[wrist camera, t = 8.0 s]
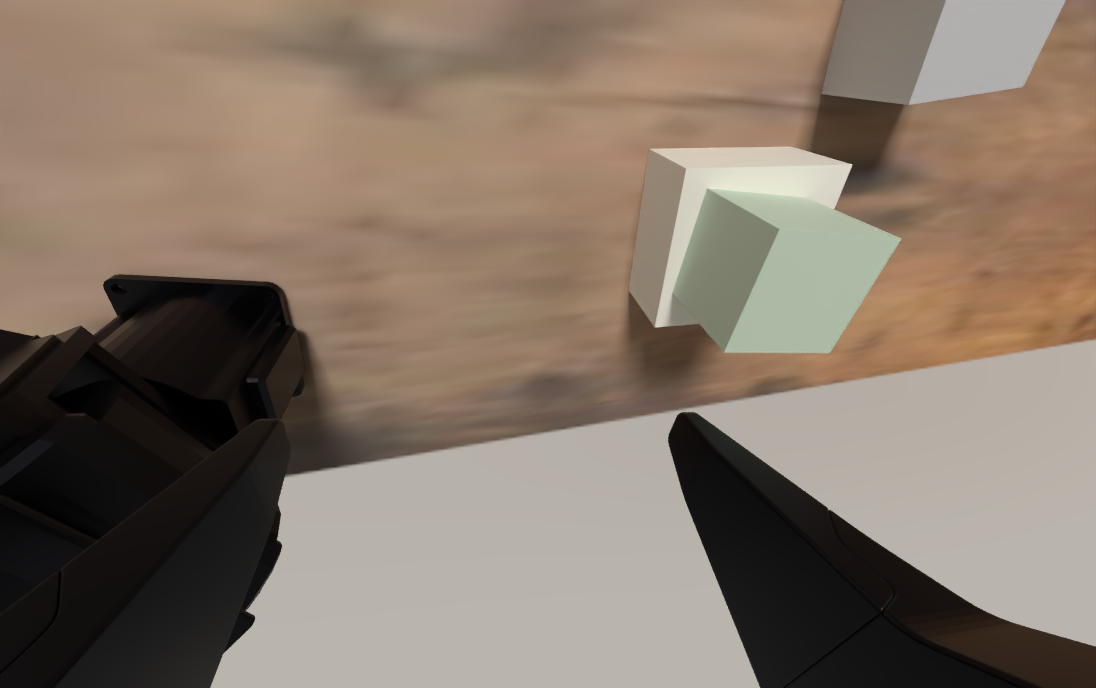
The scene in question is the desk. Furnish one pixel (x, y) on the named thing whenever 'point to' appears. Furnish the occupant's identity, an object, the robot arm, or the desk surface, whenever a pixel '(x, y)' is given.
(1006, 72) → the grey cube
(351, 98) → the desk surface
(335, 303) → the desk surface
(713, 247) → the sage cube
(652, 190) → the cream block
